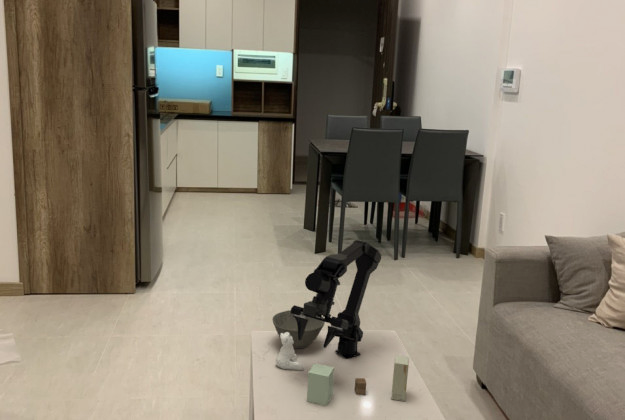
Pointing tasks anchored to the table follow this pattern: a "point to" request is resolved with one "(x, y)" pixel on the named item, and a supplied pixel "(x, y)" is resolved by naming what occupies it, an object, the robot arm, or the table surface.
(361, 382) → the brown box
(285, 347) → the white creature statuette
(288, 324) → the bowl
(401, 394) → the skincare box
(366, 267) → the robot arm
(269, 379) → the table surface
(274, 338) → the table surface
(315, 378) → the mint green pillar
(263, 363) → the table surface
